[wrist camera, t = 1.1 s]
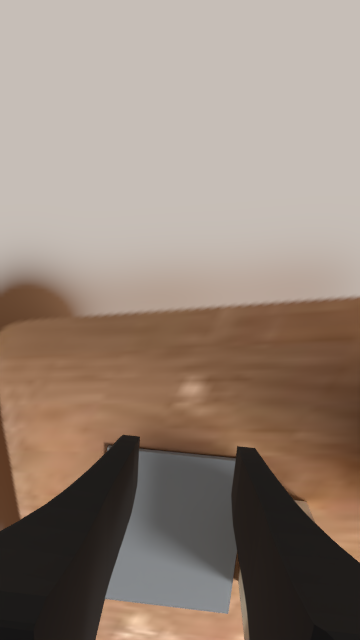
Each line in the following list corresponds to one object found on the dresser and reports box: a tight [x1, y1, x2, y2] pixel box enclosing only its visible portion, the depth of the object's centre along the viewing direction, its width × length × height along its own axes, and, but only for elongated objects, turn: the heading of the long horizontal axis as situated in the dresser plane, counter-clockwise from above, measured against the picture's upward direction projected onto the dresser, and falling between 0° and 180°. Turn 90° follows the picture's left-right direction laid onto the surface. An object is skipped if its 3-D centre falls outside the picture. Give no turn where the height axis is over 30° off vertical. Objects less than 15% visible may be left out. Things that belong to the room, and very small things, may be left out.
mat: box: [105, 445, 237, 614], centre depth 25 cm, size 10×14×1 cm
